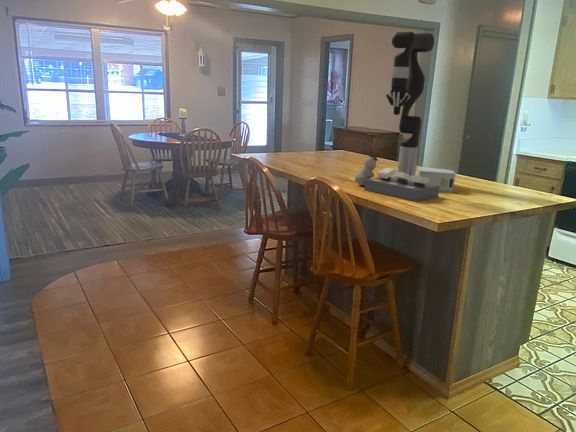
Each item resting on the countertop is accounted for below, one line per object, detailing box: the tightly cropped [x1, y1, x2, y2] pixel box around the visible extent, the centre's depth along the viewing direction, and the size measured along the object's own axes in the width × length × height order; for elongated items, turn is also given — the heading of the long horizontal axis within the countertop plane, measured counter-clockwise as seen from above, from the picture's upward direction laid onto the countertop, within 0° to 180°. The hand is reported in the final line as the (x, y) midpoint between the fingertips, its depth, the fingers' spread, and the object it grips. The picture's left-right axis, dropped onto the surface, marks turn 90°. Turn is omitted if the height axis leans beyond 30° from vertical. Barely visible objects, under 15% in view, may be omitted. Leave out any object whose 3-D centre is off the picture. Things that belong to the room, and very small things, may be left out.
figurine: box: [354, 154, 378, 187], centre depth 224 cm, size 9×10×15 cm
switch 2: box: [393, 170, 411, 181], centre depth 209 cm, size 7×5×2 cm
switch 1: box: [377, 167, 396, 179], centre depth 216 cm, size 7×5×2 cm
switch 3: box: [410, 175, 429, 183], centre depth 203 cm, size 7×5×2 cm
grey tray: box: [364, 176, 440, 203], centre depth 211 cm, size 18×28×6 cm, turn 43°
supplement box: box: [416, 166, 456, 193], centre depth 226 cm, size 17×13×9 cm
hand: (396, 114), depth 220 cm, fingers closed
